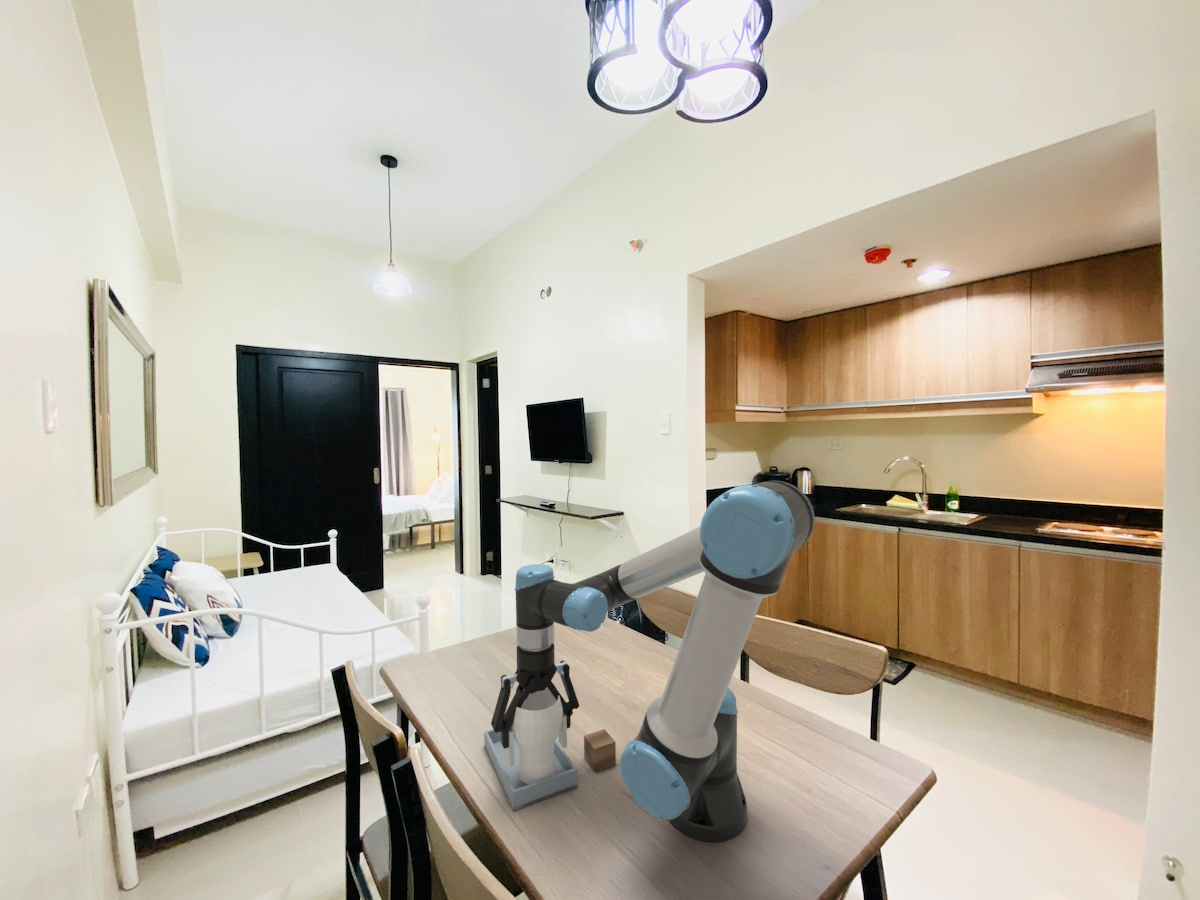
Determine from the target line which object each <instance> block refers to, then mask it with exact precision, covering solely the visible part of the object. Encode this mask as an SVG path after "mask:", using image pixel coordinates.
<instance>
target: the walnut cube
mask: <svg viewBox="0 0 1200 900" xmlns="http://www.w3.org/2000/svg"><path fill="white" fill-rule="evenodd" d="M616 747H617V746H616V740H615V739H614V738H613V737H612V736H611V735H610V733H608V731H607V730H606V729H605V728H603V729H600V730H597V731H594V732H590V733H588V734H584V735H583V753H584V754H583V756H584V757H583V758H584V759H585V761H586V762H587V764H588V765H589V767H590V768H591V769H592V771H593V772H594V773H596V772H599V771H602V770H604V769H607V768H609V767H613V766H616V764H617V763H616V758H617V757H616V753H617V752H616Z"/></svg>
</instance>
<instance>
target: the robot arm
mask: <svg viewBox="0 0 1200 900" xmlns="http://www.w3.org/2000/svg"><path fill="white" fill-rule="evenodd" d="M815 521H816V519H815V512H814V507H813V505H812V503H811V501H810V500H809V498H808V496H807V495H806V494H805V493H804V492H803V491H802V490H801V489H800V488H798V487H797V486H795V485H794V484H791V483H788V482H785V481H781V480H766V481H762V482H758V483H755V484H746V485H745V484H744V485H738V486H736V487H734V488H730V489H729V490H727V491H725V492H723V493H722V494H720V495H718V497H716V498H715V499H713V501H712V502H711V503H710V504H709V506H707V508H706V509H705V511H704V514H703V516H702V518H701V522H700V526H698V527H697V528H694V529H692V530H690V531H688V532H686V533H684V534H682V535H679V536H677V537H675V538H673V539H671V540H669V541H667V542H664V543H663V544H661V545H658V546H656V547H654V548H651V549H650V550H648V551H646V552H643V553H641V554H639V555H637V556H635V557H633V558H631V559H629V560H627V561H625V562H623V563H621V564H618V565H615V566H613V567H611V568H609V569H607V570H605V571H603V572H600V573H598V574H595V575H593V576H590V577H588V578H584V579H583V580H579V581H577V582H574V583H570V582H569V583H567V582H563V581H559V580H556V579H554V578H555V574H554V570H553V567H551V566H549V565H548V564H547V565H546V564H539V563H538V564H537V563H536V564H528V565H524V566H522V567H520V568H519V569H518V570H517V571H516V575H515V588H514V591H515V614H516V615H515V617H516V618H515V619H516V620H515V621H516V623H515V624H516V626H515V627H516V645H517V646H516V671H515V673H514V674H511V675H509V676H507V674H502V675H501V677H500V690H499V694H498V697H497V700H496V704H495V708H494V712H493V715H492V719H491V721H490V725H491V727H492V729H494V731H495V732H496V733H498V732H501V744H502V746H503V748H504V749H505V748H506V759H507V761H508V763H509V765H510V766H513V765H514V734H513V730H512V729H511V726H512V724H513V722H514V717H515V712H516V708H517V707H518V708H521V707H522V705H523V703H524V701H525V700H526V699H527V697H528V695H529V693H530V694H532V693H535V692H537V691H543V690H545V688H548V689H549V691H550V692H551V693H552V695H553V696H554V698H555V699H556V700H558V695H559V696H560V700H561V704H562V708H563V720H562V724H561V728H560V732H559V735H558V737H557V738H558V739H557V741H558V742H559V744H560V745H561V747H562V748H563V749H566V748H567V747H568V729H570V728H571V722H572V721H571V716H572V715H573V713H574V711H573V710H577V709H578V708H580V703H579V700H578V698H577V694H576V691H575V688H574V685H573V683H572V679H571V677H570V665H569V664H568V663H567V662H566V661H565V660H561V661H559V663H555V660H556V659H555V644H554V643H555V623H556V624H559V625H562V626H566V627H568V628H570V629H572V630H577V631H585V632H595V631H597V630H599V629H600V628H601V625H602V623H604V622H605V620H606V618H607V614H608V612H610V611H612V610H614V609H616V608H618V607H621V606H624V605H625V604H627V603H630V602H632V601H636V600H637V599H640V598H642V597H644V596H647V595H649V594H652V593H654V592H657V591H659V590H661V589H664V588H666V587H669V586H671V585H674V584H676V583H679V582H682V581H684V580H686V579H689V578H691V577H694V576H697V575H699V574H701V573H704V576H703V577H704V578H703V580H702V583H701V585H700V587H699V591H698V594H697V597H696V599H695V603H694V605H693V608H692V612H691V614H690V616H689V617H690V618H689V619H688V622H687V625H686V629H685V631H684V633H683V636H682V639H681V641H680V646H679V648H678V651H677V653H676V656H675V659H674V663H673V665H672V667H671V671H670V674H669V677H668V679H667V681H666V685H665V687H664V690H663V692H662V696H660V697H657V698H655V699H654V700H652V701H651V702H650V704H649V706H648V708H647V709H646V713H645V715H644V718H643V720H642V724H641V726H640V729H639V732H638V734H637V736H636V737H635V738H634V739H633V740H631V741H629V743H627V745H626V746H625V748H624V750H623V751H622V754H621V756H620V760H619V761H620V764H619V765H620V766H619V767H620V773H621V776H622V781H624V783H625V785H626V788H627V791H628V792H629V794H630V796H631V797H632V798H633V800H634V801H635V802H636V803H637V805H638V806H639V807H641V809H643V811H645V813H648V814H650V815H651V816H653V817H654V818H657V819H660V820H663V819H665V820H667V821H669V822H670V823H671V825H673V826H674V828H676V829H677V830H678V831H679V832H681V833H682V834H684V835H686V836H687V837H690V838H692V839H695V840H699V841H703V842H709V843H710V842H711V843H712V842H713V843H716V842H717V843H718V842H725V841H727V840H728V841H729V840H731V839H733V838H735V837H736V836H738V835H739V834H740V833H741V832H742V831H743V830H744V828H745V827H746V824H747V818H748V804H747V803H748V802H747V799H746V796H745V792H744V790H743V786H742V783H741V781H740V777H739V774H738V770H737V769H738V768H737V767H738V766H737V765H738V759H737V758H738V757H737V755H738V751H737V750H738V713H739V711H738V709H737V698H736V694H735V693H734V692H733V690H731V689H730V688H729V685H730V684H731V680H732V678H733V676H734V673H735V670H736V668H737V665H738V662H739V660H740V657H741V655H742V652H743V650H744V647H745V644H746V641H747V639H748V637H749V634H750V631H751V629H752V626H753V623H754V621H755V618H756V615H757V613H758V611H759V607H760V606H761V603H762V601H763V599H765V598H768V597H772V596H775V595H776V594H777V593H778V591H779V589H780V586H781V584H782V582H783V579H784V576H785V573H786V572H787V570H788V566H789V564H790V561H791V560H792V559H791V558H792V557H793V555H794V554H795V552H797V551H798V550H800V549H801V548H802V547H803V546H804V545H805V544H806V543H807V542H808V541H809V540H810V538H811V536H812V534H813V531H814V528H815ZM556 673H558V675H559V676H560V679H561V681H562V685H563V688H564V691H565V693H566V696H567V700H568V701H566V699H564V697H563V696H562V694H561V693H560V692H559V690H558V689H557V686H556V685H555V683H553V681H552V680H553V679H554V677H555V675H556ZM516 682H517V683H518V685H517V687H516V689H515V693H514V695H513V697H512V699H511V701H510V697H511V692H512V691H511V690H512V689H513V688H514V684H515V683H516ZM509 701H510V703H509ZM508 703H509V706H508Z"/></svg>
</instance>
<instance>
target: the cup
mask: <svg viewBox="0 0 1200 900" xmlns="http://www.w3.org/2000/svg"><path fill="white" fill-rule="evenodd" d="M562 720H563V708H562V704H561V700H560V696H559V695H558V700H556V699H555V698H554V696H553V695H552V693H551V692H550V691H549V689H548V688H545V690H543V691H537V692H535V693H532V694H530V693H529V695H528V697H527V699H526V700H525V701H524V703H523V705H522V707H521V708H518V707H517V708H516V712H515V717H514V722H513V724H512V726H511V729H512V730H513V734H514V738H515V740H516V742H517V744H518V746H519V753H520V758H519V764H518V777H519V779H520V780H521V781H522V782H524V783H526V784H532V783H535V782H537V781H540V780H543V779H546V778H549V777H551V776H554V775H555V774H556V763H555V757H554V745H555V741H556V739H557V738H558V735H559V732H560V728H561V724H562ZM557 740H558V739H557Z"/></svg>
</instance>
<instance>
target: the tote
mask: <svg viewBox="0 0 1200 900" xmlns="http://www.w3.org/2000/svg"><path fill="white" fill-rule="evenodd" d="M483 734H484V735H483V738H484V739H483V740H484V741H483V742H484V746H483V747H484V749H485V751H486V754H487V756H488V758H489V760H490V762H491V765H492V767H493V769H494V771H495V774H496V776H497V778H498V780H499V782H500V785H501V787H502V789H503V792H504V793H505V796H506V799H507V801H508V803H509V804H510V807H511V810H512V811H513V812H516V811H517V810H520V809H523V808H525V807H528V806H531V805H533V804H536V803H538V802H542V801H543V800H547V799H549V798H552V797H554V796H557V795H559V794H562V793H565V792H567V791H570V790H573V789H576V788H578V783H579V782H578V768H577V766H576V765H575V764H574V762H573V761H572V760H571V758H570V757H569V756H568V754H567V752H566V751H565V748H563V747H562V745H561V744H560V742H559V741H558V739H556V741H555V745H554V757H555V763H556V774H555V775H554V776H551V777H549V778H546V779H543V780H540V781H537V782H535V783H532V784H526V783H524V782H522V781H521V780H520V779H519V777H518V764H519V758H520V753H519V746H518V744H517V742H516V740H515V738H514V765H513V766H510V765H509V763H508V761H507V759H506V748H505V749H504V748H503V746H502V744H501V732H498V733H496V732H495V731H494V729H493V728H491V729H487V730H485V731H483Z"/></svg>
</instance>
